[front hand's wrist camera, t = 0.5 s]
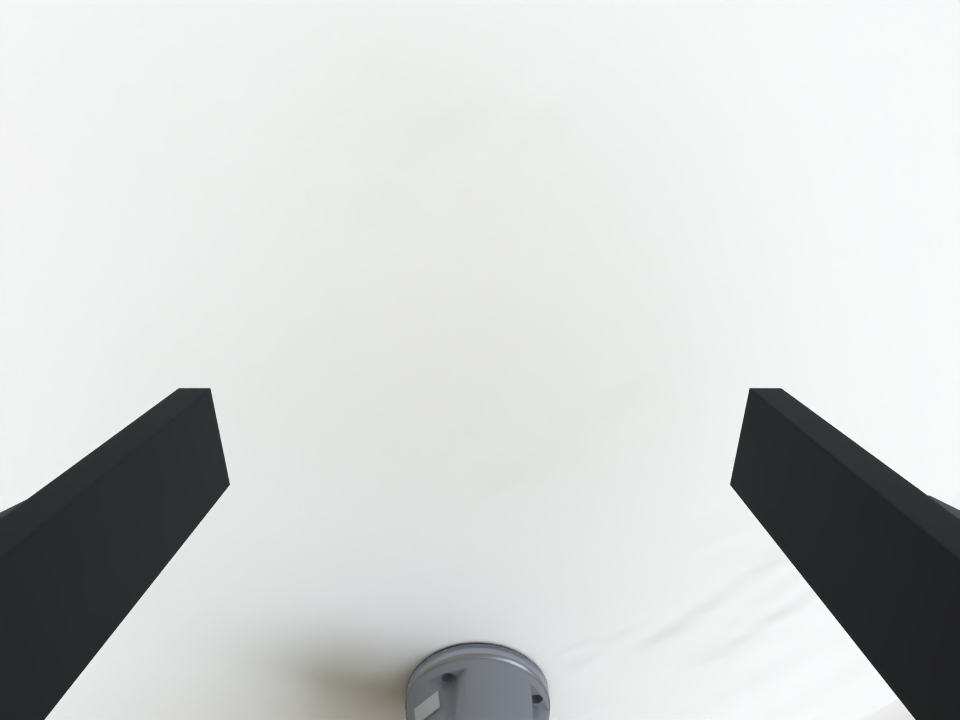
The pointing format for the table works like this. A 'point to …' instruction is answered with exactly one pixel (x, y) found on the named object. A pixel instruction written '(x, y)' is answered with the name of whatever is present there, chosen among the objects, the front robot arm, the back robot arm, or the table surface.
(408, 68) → the table surface
